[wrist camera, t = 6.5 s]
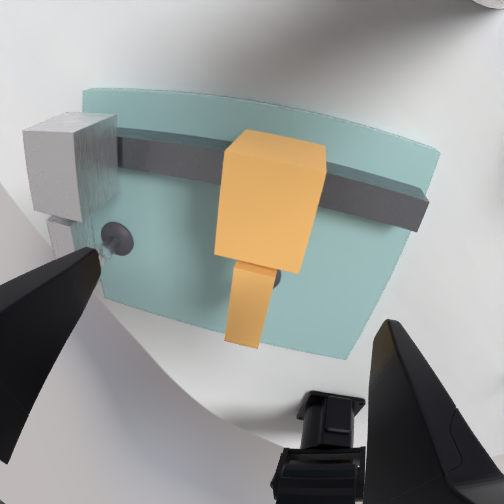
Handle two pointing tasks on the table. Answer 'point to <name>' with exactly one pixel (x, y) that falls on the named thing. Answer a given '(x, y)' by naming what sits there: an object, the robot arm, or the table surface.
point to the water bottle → (491, 3)
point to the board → (206, 213)
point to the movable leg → (265, 220)
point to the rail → (211, 165)
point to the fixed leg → (73, 176)
